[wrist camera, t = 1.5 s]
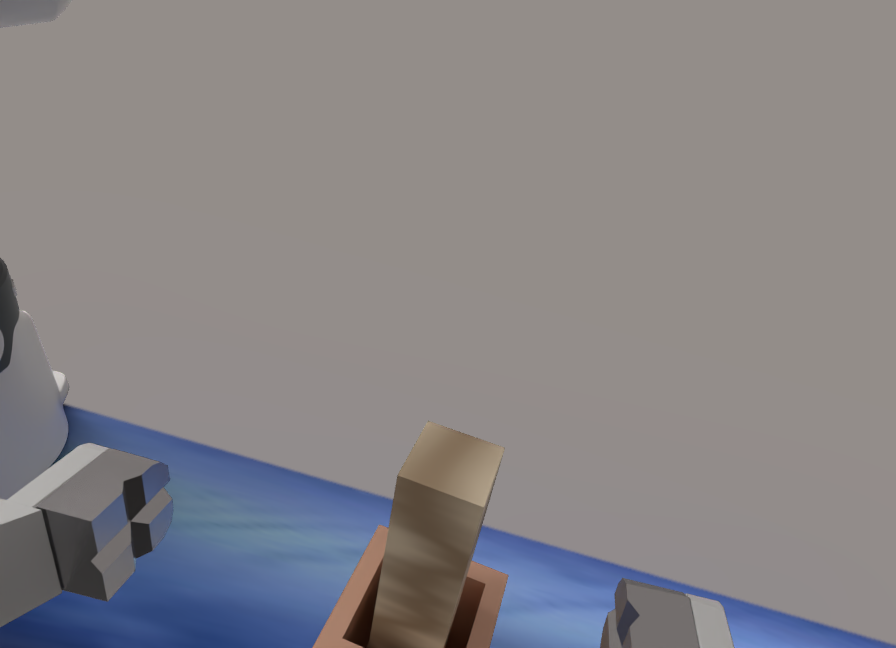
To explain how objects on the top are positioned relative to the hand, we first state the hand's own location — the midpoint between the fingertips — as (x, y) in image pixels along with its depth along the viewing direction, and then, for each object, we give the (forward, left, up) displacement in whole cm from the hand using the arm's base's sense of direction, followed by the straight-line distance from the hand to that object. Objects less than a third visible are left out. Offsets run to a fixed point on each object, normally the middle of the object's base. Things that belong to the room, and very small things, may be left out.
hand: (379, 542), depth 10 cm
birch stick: (0, +10, -26) cm, 28 cm away
